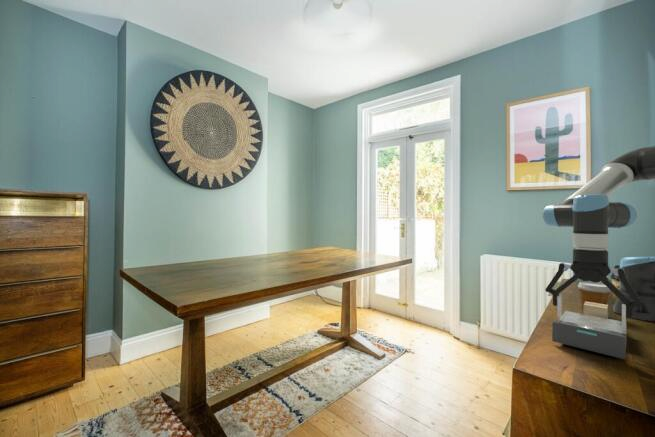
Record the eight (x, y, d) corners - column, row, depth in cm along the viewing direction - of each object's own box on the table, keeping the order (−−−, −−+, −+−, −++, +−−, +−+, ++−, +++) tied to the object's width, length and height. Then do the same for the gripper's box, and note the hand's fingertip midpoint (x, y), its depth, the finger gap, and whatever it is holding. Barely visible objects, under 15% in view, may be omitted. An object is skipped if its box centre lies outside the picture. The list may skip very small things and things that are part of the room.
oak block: (585, 320, 106) (585, 301, 106) (607, 325, 102) (608, 305, 102) (583, 324, 102) (583, 304, 102) (607, 329, 97) (607, 308, 98)
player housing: (565, 323, 103) (565, 310, 103) (626, 335, 92) (626, 321, 92) (558, 333, 92) (558, 320, 92) (626, 349, 82) (626, 333, 82)
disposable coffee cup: (576, 310, 119) (577, 280, 119) (609, 315, 113) (609, 284, 113) (577, 315, 112) (578, 284, 112) (612, 321, 106) (612, 288, 106)
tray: (560, 329, 94) (560, 311, 94) (625, 343, 83) (626, 324, 83) (552, 341, 84) (552, 321, 84) (625, 359, 73) (625, 337, 73)
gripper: (654, 251, 77) (654, 331, 77) (539, 244, 95) (539, 310, 95) (656, 253, 71) (656, 339, 71) (534, 246, 89) (534, 315, 89)
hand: (589, 323), depth 83 cm, fingers open, 13 cm apart
